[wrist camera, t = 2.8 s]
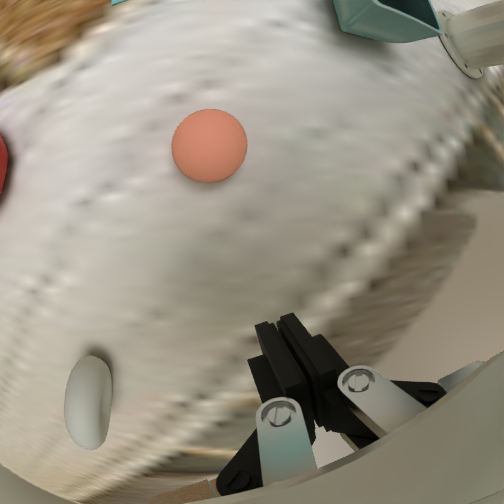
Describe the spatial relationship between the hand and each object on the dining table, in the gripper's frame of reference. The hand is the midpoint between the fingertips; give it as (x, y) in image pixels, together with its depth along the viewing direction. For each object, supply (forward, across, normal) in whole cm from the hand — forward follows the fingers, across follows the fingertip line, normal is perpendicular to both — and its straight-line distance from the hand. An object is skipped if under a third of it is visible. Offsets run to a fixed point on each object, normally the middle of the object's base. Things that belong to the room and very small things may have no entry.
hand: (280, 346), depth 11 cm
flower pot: (+14, -19, -23) cm, 33 cm away
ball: (+11, 0, -10) cm, 15 cm away
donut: (+14, +18, +8) cm, 24 cm away
